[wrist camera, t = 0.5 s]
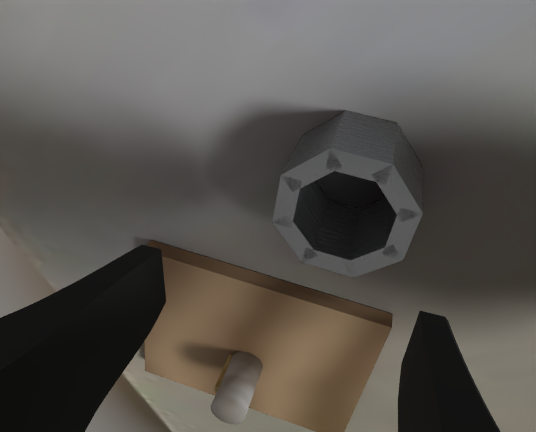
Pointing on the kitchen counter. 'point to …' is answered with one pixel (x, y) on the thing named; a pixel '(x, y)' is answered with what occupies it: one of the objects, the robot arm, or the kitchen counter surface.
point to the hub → (342, 216)
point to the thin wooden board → (262, 342)
